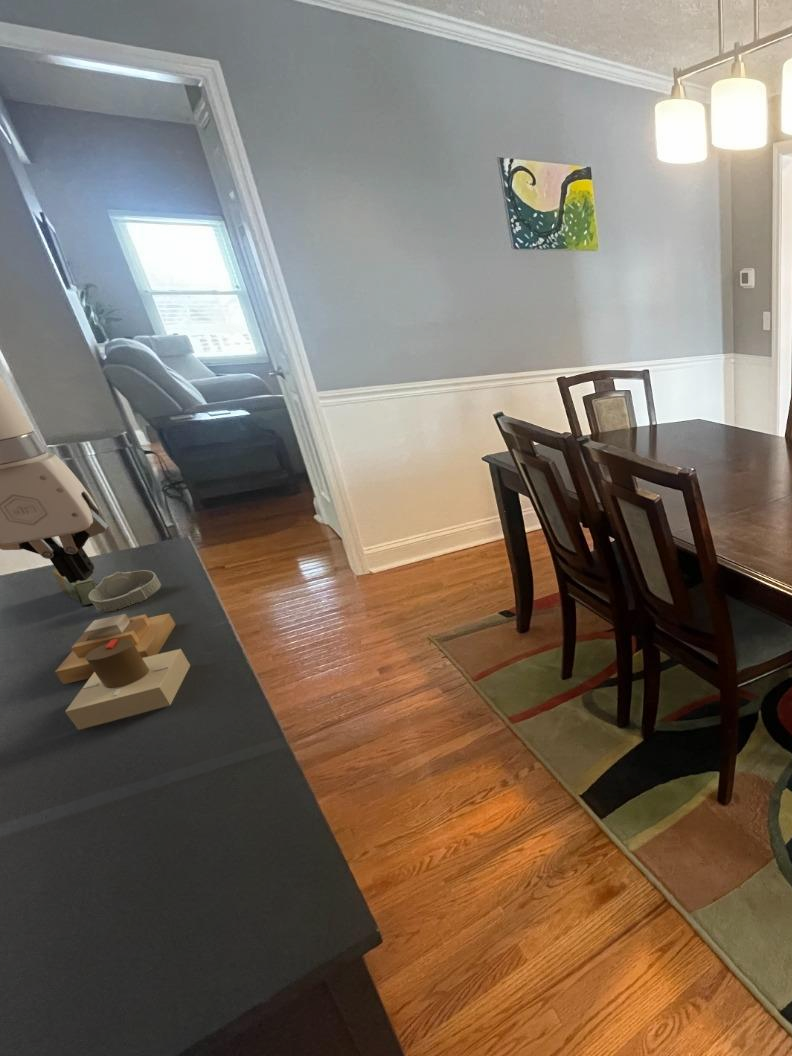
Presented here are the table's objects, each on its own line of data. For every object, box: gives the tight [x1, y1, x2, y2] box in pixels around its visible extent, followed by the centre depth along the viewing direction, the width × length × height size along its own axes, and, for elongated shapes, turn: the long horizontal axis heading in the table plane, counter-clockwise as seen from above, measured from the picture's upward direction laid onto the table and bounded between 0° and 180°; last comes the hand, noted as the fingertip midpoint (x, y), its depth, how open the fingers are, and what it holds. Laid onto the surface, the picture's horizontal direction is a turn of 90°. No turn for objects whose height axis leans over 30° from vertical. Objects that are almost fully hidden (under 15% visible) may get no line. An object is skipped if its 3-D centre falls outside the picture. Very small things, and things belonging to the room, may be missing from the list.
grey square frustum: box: [83, 613, 131, 640], centre depth 87 cm, size 4×4×2 cm
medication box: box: [52, 568, 98, 607], centre depth 105 cm, size 12×3×4 cm, turn 60°
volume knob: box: [85, 639, 149, 688], centre depth 77 cm, size 4×4×5 cm
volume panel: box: [64, 648, 191, 731], centre depth 79 cm, size 9×10×3 cm
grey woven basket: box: [88, 569, 162, 613], centre depth 103 cm, size 9×6×5 cm
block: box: [54, 612, 177, 685], centre depth 88 cm, size 10×12×4 cm
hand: (82, 577), depth 84 cm, fingers closed
